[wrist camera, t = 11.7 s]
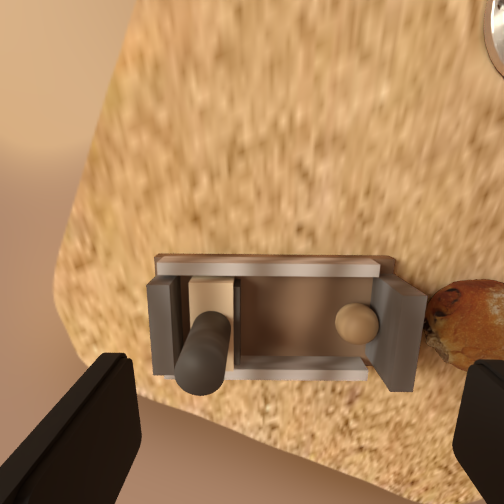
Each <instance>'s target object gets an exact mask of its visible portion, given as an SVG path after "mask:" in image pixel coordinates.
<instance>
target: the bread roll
mask: <svg viewBox="0 0 504 504" xmlns="http://www.w3.org/2000/svg"><path fill="white" fill-rule="evenodd" d="M423 330H424V331H425V333H426V344H427V345H428V346H430V347H435V350H436V351H437V352H438V353H439V355H440V356H441V357H442V358H443V360H444V362H446V363H451V364H453V365H454V366H456V367H457V368H459V369H461V370H464V371H468V368H469V366H470V365H473V364H474V362H475V361H476V360H478V359H497V360H504V283H501V282H498V281H494V280H486V279H481V280H478V279H475V280H465V281H457V282H453V283H451V284H449V285H448V286H446V287H444V288H443V289H441V290H440V291H438V292H437V293H436V294H435V295H434V296H433V297H432V298H431V300H430V301H429V302H428V304H427V307H426V311H425V317H424V323H423ZM451 350H452V351H451Z"/></svg>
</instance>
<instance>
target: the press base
mask: <svg viewBox="0 0 504 504" xmlns="http://www.w3.org/2000/svg"><path fill="white" fill-rule="evenodd" d="M154 261H155V277H154V278H153V279H152V280H151V281H150V282H149V283H148V284H147V285H146V287H147V300H148V313H149V326H150V339H151V352H152V365H153V375H164V379H175V376H174V369H175V366H176V363H177V361H178V358H179V356H180V354H181V351H182V349H183V346H184V344H185V342H186V339H187V337H188V334H189V332H190V306H189V281H190V280H191V278H192V277H193V275H197V276H235V279H241V355H240V365H234V371H225V377H224V380H318V381H367V378H368V369H367V367H366V366H373V367H374V368H375V370H376V371H377V373H378V374H379V376H380V377H381V379H382V380H383V382H384V383H385V385H386V386H387V388H388V389H389V391H390V392H413V387H414V381H415V375H416V368H417V362H418V355H419V349H420V342H421V336H422V329H423V323H424V317H425V310H426V304H427V297H428V296H427V295H425V294H424V293H422V292H421V291H419V290H418V289H416V288H415V287H413V286H411V285H410V284H408V283H407V282H405V281H404V280H402V279H401V278H399V277H398V276H396V275H394V274H393V273H394V265H395V259H394V258H392V257H390V256H362V255H256V254H158V255H156V256H155V257H154Z"/></svg>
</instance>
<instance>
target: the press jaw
mask: <svg viewBox="0 0 504 504" xmlns="http://www.w3.org/2000/svg"><path fill="white" fill-rule="evenodd" d="M189 306H190V332H189V334H188V337H187V339H186V342H185V344H184V346H183V349H182V351H181V354H180V356H179V358H178V361H177V363H176V366H175V369H174V376H175V380H176V382H177V384H178V385H179V386H180V387H181V388H182V389H183V390H184V391H186V392H187V393H190V394H192V395H198V396H204V395H208V394H211V393H213V392H215V391H216V390H218V389H219V388H220V386H221V385H222V383H223V381H224V377H225V371H234V365H240V355H241V279H235V276H197V275H193V277H192V278H191V280H190V281H189Z"/></svg>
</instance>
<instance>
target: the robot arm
mask: <svg viewBox="0 0 504 504" xmlns="http://www.w3.org/2000/svg"><path fill="white" fill-rule="evenodd" d="M484 35H485V43H486V47H487V50H488V53H489V56H490V59H491V60H492V62H493V64H494V65H495V67H496V69H497V70H498V71H499V72H500V73H501V74H502V75H503V76H504V0H487V5H486V10H485V14H484ZM141 438H142V433H141V425H140V417H139V409H138V401H137V393H136V385H135V377H134V369H133V362H132V360H131V359H130V358H127V356H126V354H125V353H102V354H101V355H100V356H99V357H98V358H97V359H96V360H95V362H94V363H93V364H92V365H91V366H90V367H89V368H88V369H87V371H86V372H85V373H84V374H83V375H82V376H81V377H80V378H79V379H78V381H77V382H76V383H75V384H74V385H73V386H72V387H71V388H70V390H69V391H68V392H67V393H66V394H65V395H64V396H63V397H62V398H61V400H60V401H59V402H58V403H57V404H56V405H55V406H54V407H53V409H52V410H51V411H50V412H49V413H48V414H47V415H46V416H45V417H44V419H43V420H42V421H41V422H40V423H39V424H38V425H37V426H36V428H35V429H34V430H33V431H32V432H31V433H30V434H29V435H28V437H27V438H26V439H25V440H24V441H23V442H22V443H21V444H20V445H19V447H18V448H17V449H16V450H15V451H14V452H13V453H12V454H11V455H10V457H9V458H8V459H7V460H6V461H5V462H4V463H3V464H2V466H1V467H0V504H115V502H116V499H117V497H118V495H119V493H120V490H121V488H122V486H123V484H124V482H125V479H126V477H127V475H128V473H129V470H130V468H131V466H132V464H133V461H134V459H135V457H136V455H137V452H138V450H139V448H140V444H141ZM452 446H453V451H454V454H455V457H456V458H457V460H458V462H459V463H460V465H461V466H462V468H463V469H464V471H465V472H466V473H467V475H468V476H469V478H470V479H471V481H472V482H473V484H474V485H475V487H476V488H477V490H478V491H479V493H480V494H481V496H482V497H483V499H484V500H485V501H486V503H487V504H504V360H497V359H478V360H476V361H475V362H474V364H473V365H470V366H469V368H468V371H467V376H466V381H465V386H464V390H463V395H462V400H461V404H460V409H459V414H458V419H457V423H456V428H455V433H454V438H453V443H452Z"/></svg>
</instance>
